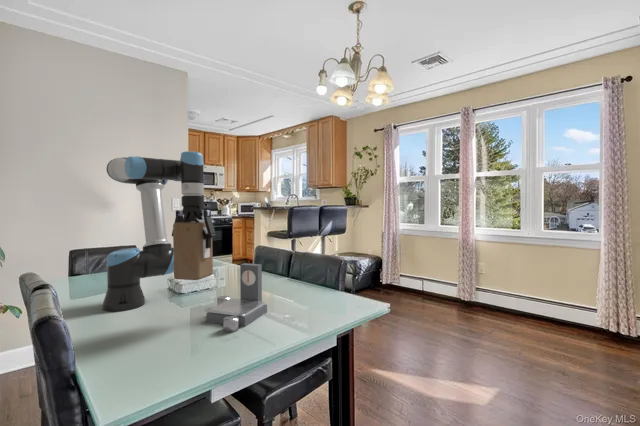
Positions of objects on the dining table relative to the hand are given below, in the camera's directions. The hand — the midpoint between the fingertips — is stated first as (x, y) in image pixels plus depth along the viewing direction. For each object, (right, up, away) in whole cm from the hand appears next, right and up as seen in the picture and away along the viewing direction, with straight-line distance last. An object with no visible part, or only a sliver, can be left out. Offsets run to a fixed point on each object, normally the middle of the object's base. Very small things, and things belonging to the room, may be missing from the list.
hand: (193, 256), depth 118 cm
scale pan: (+15, -23, +5) cm, 28 cm away
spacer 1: (+6, -23, +17) cm, 29 cm away
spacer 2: (+15, -24, -8) cm, 29 cm away
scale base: (+15, -23, +7) cm, 28 cm away
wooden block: (0, -8, 0) cm, 8 cm away
